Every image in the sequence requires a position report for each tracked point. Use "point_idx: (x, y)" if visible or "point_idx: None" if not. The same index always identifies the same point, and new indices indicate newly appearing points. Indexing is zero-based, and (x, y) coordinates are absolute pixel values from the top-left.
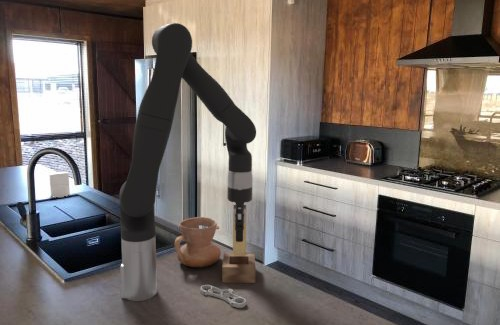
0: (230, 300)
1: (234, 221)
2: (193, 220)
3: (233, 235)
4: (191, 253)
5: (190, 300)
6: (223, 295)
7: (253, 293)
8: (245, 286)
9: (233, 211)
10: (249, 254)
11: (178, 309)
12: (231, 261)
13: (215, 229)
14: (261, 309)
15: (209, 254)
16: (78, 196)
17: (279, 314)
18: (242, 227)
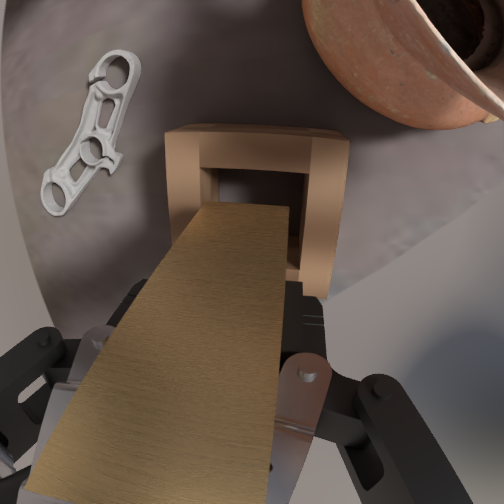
0: (52, 169)
1: (56, 387)
2: None
3: (154, 273)
4: None
5: (71, 38)
6: (81, 141)
7: (124, 236)
8: (166, 214)
9: (22, 495)
10: (323, 277)
11: (34, 26)
12: (307, 175)
13: (479, 105)
14: (57, 249)
15: (345, 55)
16: None
17: (53, 284)
18: (42, 390)
